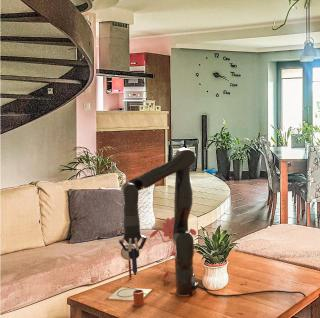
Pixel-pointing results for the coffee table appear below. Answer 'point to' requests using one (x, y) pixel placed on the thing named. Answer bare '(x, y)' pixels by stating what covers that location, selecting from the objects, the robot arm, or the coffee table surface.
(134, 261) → the marker
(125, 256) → the magnifying glass
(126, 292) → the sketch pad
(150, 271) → the coffee table surface
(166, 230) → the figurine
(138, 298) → the pen cup
